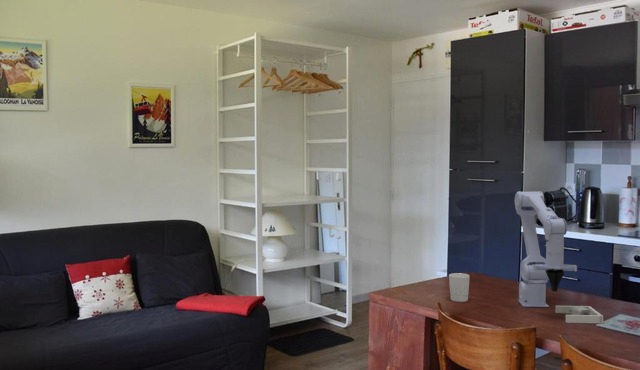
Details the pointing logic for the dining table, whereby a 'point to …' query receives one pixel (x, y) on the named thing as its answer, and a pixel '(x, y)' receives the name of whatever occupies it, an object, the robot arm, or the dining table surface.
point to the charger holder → (591, 318)
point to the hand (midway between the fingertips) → (554, 290)
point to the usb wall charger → (580, 311)
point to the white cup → (459, 287)
